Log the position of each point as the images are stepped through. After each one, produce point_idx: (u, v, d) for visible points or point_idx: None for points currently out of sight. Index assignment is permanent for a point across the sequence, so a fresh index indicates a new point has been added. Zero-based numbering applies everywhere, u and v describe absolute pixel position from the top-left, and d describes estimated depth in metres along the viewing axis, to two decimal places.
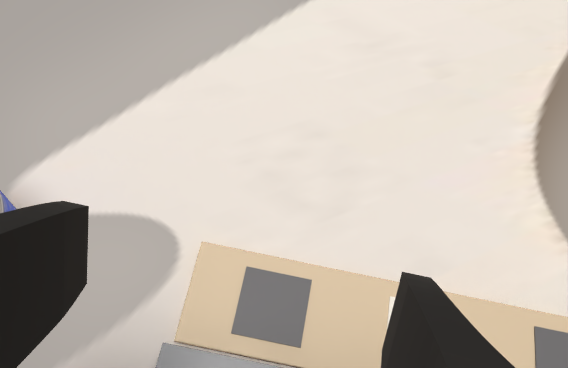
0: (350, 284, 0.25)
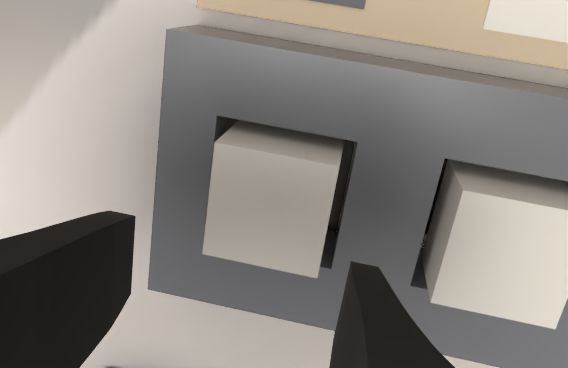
0: None
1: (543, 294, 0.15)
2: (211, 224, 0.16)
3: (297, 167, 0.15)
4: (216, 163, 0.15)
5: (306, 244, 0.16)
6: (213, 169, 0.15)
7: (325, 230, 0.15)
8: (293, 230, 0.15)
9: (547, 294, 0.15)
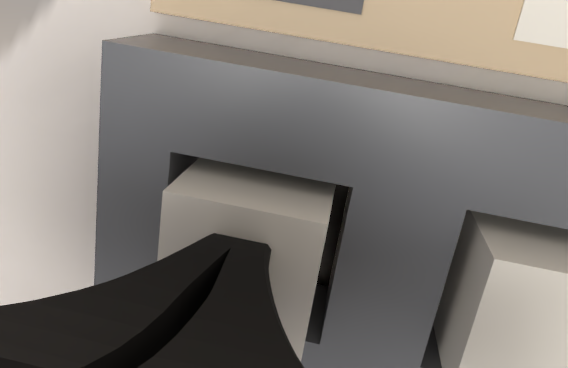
0: None
1: None
2: None
3: (272, 224, 0.11)
4: (166, 218, 0.11)
5: (285, 322, 0.12)
6: (162, 225, 0.12)
7: (310, 305, 0.12)
8: None
9: None
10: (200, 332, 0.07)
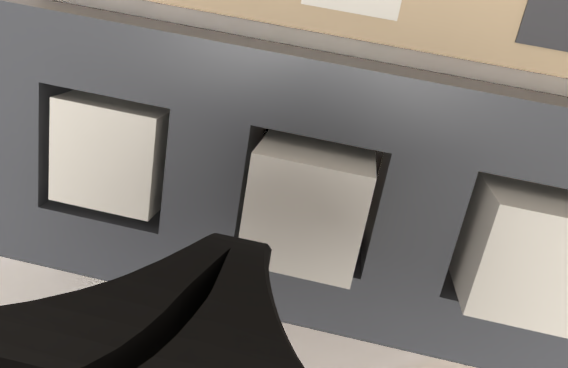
0: None
1: (335, 255, 0.16)
2: (53, 172, 0.18)
3: (121, 119, 0.17)
4: (53, 116, 0.17)
5: (135, 190, 0.18)
6: (50, 121, 0.17)
7: (150, 177, 0.17)
8: (123, 177, 0.17)
9: (338, 255, 0.16)
10: (200, 332, 0.07)
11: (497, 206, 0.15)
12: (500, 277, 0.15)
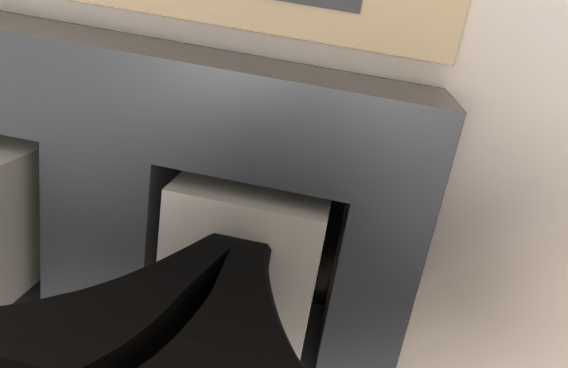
0: None
1: None
2: None
3: None
4: None
5: None
6: None
7: None
8: None
9: None
10: (200, 332, 0.07)
11: (163, 193, 0.11)
12: None
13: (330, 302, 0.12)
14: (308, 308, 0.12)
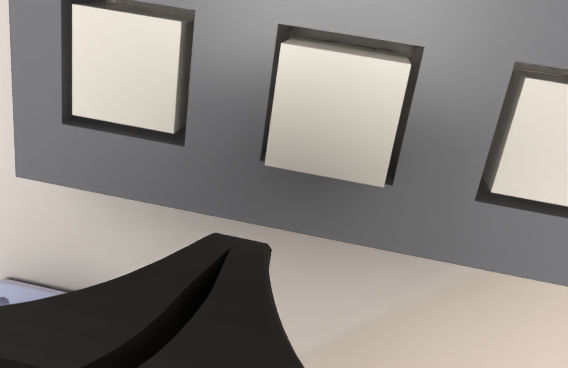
0: None
1: (368, 150, 0.15)
2: (77, 85, 0.17)
3: (145, 24, 0.16)
4: (75, 24, 0.17)
5: (160, 100, 0.17)
6: (73, 30, 0.17)
7: (175, 85, 0.17)
8: (148, 87, 0.17)
9: (372, 150, 0.15)
10: (200, 332, 0.07)
11: (523, 81, 0.15)
12: (527, 152, 0.16)
13: None
14: None
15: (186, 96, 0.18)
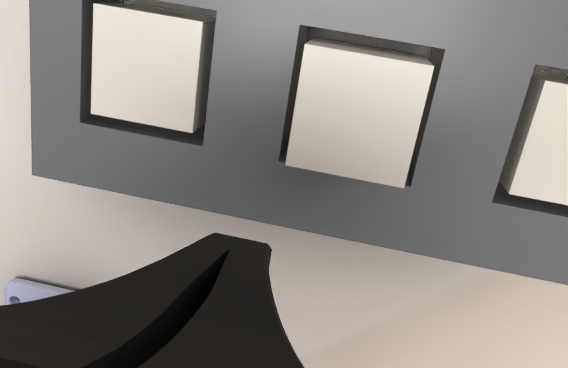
0: None
1: (389, 151, 0.15)
2: (96, 83, 0.18)
3: (166, 24, 0.17)
4: (96, 23, 0.17)
5: (179, 100, 0.17)
6: (94, 29, 0.17)
7: (195, 85, 0.17)
8: (168, 87, 0.17)
9: (393, 151, 0.15)
10: (200, 332, 0.07)
11: (542, 84, 0.16)
12: (545, 154, 0.16)
13: None
14: None
15: (204, 96, 0.18)
